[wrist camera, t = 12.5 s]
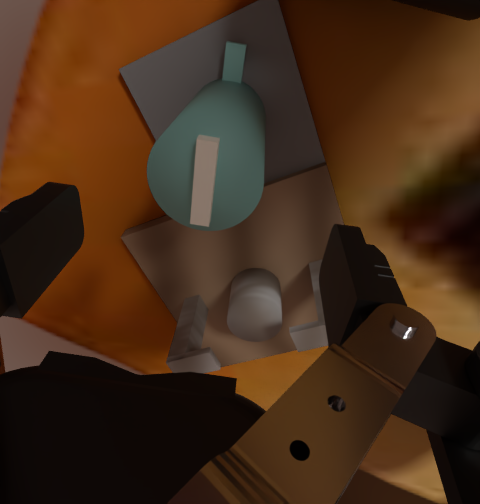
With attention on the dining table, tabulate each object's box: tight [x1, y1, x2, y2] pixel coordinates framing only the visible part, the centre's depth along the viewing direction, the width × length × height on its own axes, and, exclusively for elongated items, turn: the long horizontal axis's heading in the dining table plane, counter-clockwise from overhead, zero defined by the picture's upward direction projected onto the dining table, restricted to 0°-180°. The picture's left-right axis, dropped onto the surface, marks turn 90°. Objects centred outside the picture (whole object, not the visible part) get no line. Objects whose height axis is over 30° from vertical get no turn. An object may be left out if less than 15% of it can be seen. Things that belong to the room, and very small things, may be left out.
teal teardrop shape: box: [147, 41, 266, 231], centre depth 19 cm, size 9×5×11 cm, turn 172°
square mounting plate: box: [121, 162, 344, 373], centre depth 27 cm, size 16×16×8 cm
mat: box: [119, 0, 325, 183], centre depth 23 cm, size 10×10×1 cm
